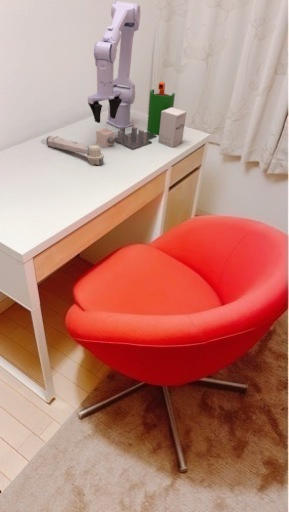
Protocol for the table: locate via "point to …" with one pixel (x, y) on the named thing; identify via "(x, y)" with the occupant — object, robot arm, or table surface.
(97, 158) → the beige long angled cylinder
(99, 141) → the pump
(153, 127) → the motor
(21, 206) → the table surface
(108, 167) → the table surface
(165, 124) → the supplement box
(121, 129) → the grey peg tray
